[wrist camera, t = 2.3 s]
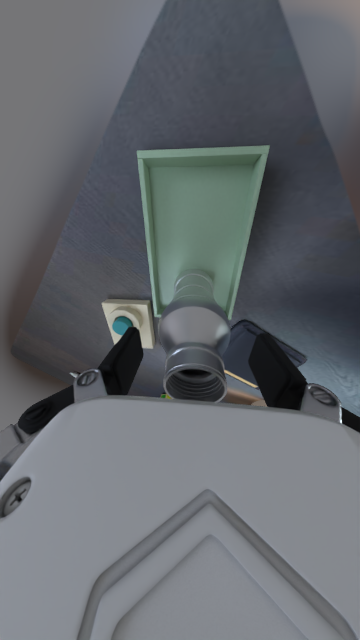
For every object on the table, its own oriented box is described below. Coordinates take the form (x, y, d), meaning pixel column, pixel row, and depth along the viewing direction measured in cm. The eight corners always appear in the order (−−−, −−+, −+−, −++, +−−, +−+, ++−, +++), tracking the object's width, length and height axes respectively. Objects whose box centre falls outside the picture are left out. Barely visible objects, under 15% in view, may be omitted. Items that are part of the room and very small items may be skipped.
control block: (107, 298, 28) (95, 307, 25) (150, 300, 28) (144, 308, 24) (119, 340, 34) (111, 352, 31) (155, 342, 33) (150, 354, 30)
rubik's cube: (167, 403, 47) (164, 421, 42) (161, 394, 45) (157, 412, 40) (182, 402, 46) (181, 420, 41) (177, 392, 43) (175, 411, 39)
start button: (114, 315, 26) (109, 320, 25) (131, 316, 26) (127, 321, 24) (118, 329, 28) (114, 335, 26) (133, 330, 27) (130, 335, 26)
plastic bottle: (189, 308, 27) (184, 426, 10) (167, 280, 25) (112, 375, 8) (218, 289, 25) (275, 403, 8) (198, 256, 22) (215, 318, 5)
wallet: (313, 365, 31) (258, 395, 38) (307, 358, 32) (255, 388, 39) (248, 320, 26) (199, 364, 33) (244, 315, 28) (199, 358, 35)
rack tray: (144, 163, 18) (136, 150, 15) (257, 159, 17) (270, 145, 14) (157, 309, 29) (154, 317, 26) (227, 312, 28) (230, 320, 25)
